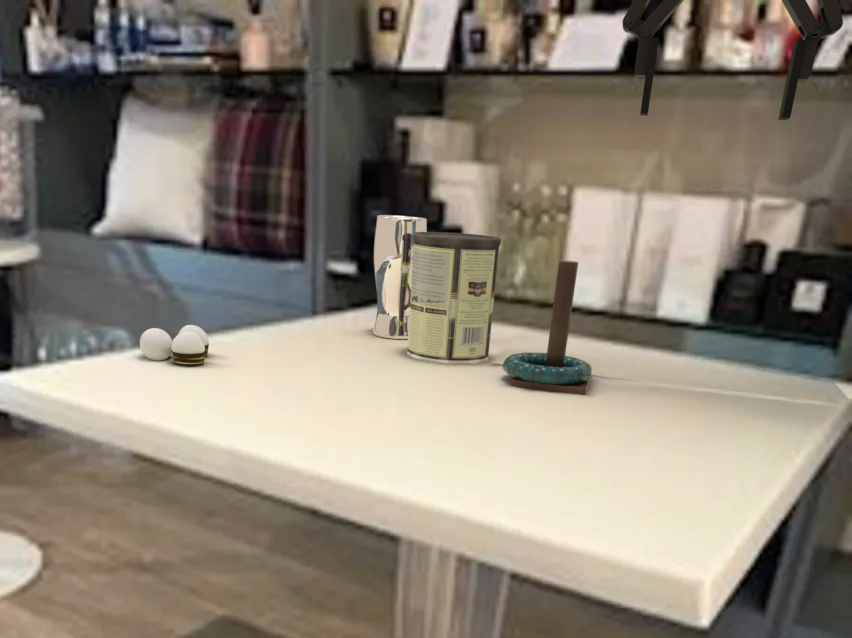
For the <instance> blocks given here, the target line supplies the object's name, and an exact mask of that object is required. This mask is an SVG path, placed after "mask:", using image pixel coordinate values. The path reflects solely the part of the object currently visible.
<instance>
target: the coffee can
mask: <svg viewBox="0 0 852 638" xmlns="http://www.w3.org/2000/svg"><path fill="white" fill-rule="evenodd" d="M413 240H414V246H413V263H412V280H411V298H410V316H409V333H408V339H407V351H406V355H407V356H408V357H410V358H413V359H416V360H419V361H424V362H429V363H434V364H445V365H476V364H483V363H486V362H488V361H489V358H490V357H489V353H490V345H491V335H492V333H491V331H492V323H493V313H494V303H495V292H496V285H497V284H496V283H497V275H498V274H497V273H498V264H499V263H498V262H499V252H500V246H501V245H502V238H500V237H498V236H491V235H486V234H485V235H483V234H476V233H465V232H464V233H463V232H462V233H461V232H448V231H447V232H446V231H445V232H443V231H427V232H415V233H413Z"/></svg>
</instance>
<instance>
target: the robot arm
mask: <svg viewBox="0 0 852 638" xmlns="http://www.w3.org/2000/svg"><path fill="white" fill-rule="evenodd" d="M684 1H685V0H662V2H661V3H660V4H659V5H658V6H657V7H656V9H655V10H653V12H652V13H651V14H650V15H649V17H647V19H646V20H643V19H641V17H642V16H643V14H644V12H645V10H646V9H647V7H648V5H649V3H650V2H651V0H632V2H631V4H630V5H629V8H628V9H627V11H626V13H625V14H624V16H623V19H622V22H621V23H622V29H623V31H624V33H628V34H631V35H633V36H634V37H636V39H637V41H638V42H637V49H636V56H635V64H634V74H635V77H636V78H644V85H643V92H642V98H641V106H640V113H639V115H640V116H648V115H649V109H650V104H651V95H652V89H653V81H654V76H655V75H654V74H655V68H656V60H657V54H658V47H659V40H660V39H659V37H653V36H654V34H655V33H656V32H657V31H658V30H659V29H660V28H661V27H662V26H663V24H664V23H665V22H666V21H667V20H668V19H669V18H670V16H671V15H672V14H673V13H674V12H675V11H676V10H677V9H678V8H679V6H680V5H681V4H682V3H683V2H684ZM781 2H782V4H783V6H784V7H785V9H786V11H787V13H788V15H789V16H790V18H791V20H792V22H793V24H794V25H795V27H796V29H797V31H798V33H799V35H800V36H801V38H802V39H797V40H796V41H795V42H794V43H793V45H792V49H791V55H790V59H789V64H788V69H787V75H786V79H785V84H784V90H783V95H782V100H781V104H780V109H779V114H778V119H777V120H778V121H787V120H789V119H791V116H792V112H793V107H794V101H795V97H796V93H797V87H798V83H799V82H800V81H803V82H806V81H808V79H809V78H810V76H811V75H812V72H813V66H814V62H815V57H816V52H817V48H818V45H819V42H820V40H821V39H824V38H826V37H830V36H833V35H835V34H836V33H837V32H838V31H840V30H841V29H842V27H843V25H844V19H843V14H842V10H841V6H840V2H839V0H816V2H817V6H818V9H819V15H820V18H821V22H818V19H817V17H816V16H815V14H814V13H813V11H812V9H811V7H810V6H809V4H808V2H807V0H781Z"/></svg>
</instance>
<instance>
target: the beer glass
mask: <svg viewBox="0 0 852 638" xmlns="http://www.w3.org/2000/svg"><path fill="white" fill-rule="evenodd" d="M427 222H428V218H425V217H419V216H409V215H393V214H378V215H376V225H375V233H374V242H373V268H374V269H373V272H374V280H375V288H376V299H377V301H376V303H377V305H376V306H377V309H376V317H375V321H374V326H373V332H372V333H373V335H374V336H376V337H379V338H384V339H390V340H391V339H392V340H408V333H409V316H410V298H411V280H412V263H413V246H414V240H413V233H415V232H428V231H427V230H428V227H427V225H428V223H427Z"/></svg>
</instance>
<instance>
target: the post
mask: <svg viewBox="0 0 852 638" xmlns="http://www.w3.org/2000/svg"><path fill="white" fill-rule="evenodd" d="M578 268H579V262H578V261H574V260H564V259H563V260H559V261H558V267H557V274H556V282H555V290H554V297H553V305H552V312H551V320H550V327H549V335H548V341H547V342H548V343H547V349H546V350H547V351H546V353H547V356H546V364H545V366H549V367H564V360H565V356H566V353H567V347H568V346H567V345H568V338H569V330H570V325H571V317H572V310H573V303H574V298H575V288H576V283H577V275H578ZM592 376H593V374H591V375H590V377H589V379H588V380H587V381H585V382H582V383H577V384H571V385H564V384H544V383H536V382H529V381H525V380H521V379H517V378H514V377H512V379H511V383H510V386H511V387H514V388H522V389H532V390H540V391H548V392H557V393H564V394H573V395H583V396H586V395H587V392H588V391H589V387H590V385H591V382H592Z"/></svg>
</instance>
